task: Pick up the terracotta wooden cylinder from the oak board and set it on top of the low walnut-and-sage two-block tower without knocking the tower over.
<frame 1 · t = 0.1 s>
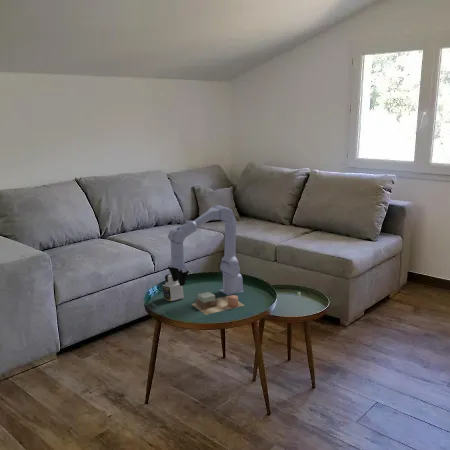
hand: (178, 283, 228), 10 cm above the table, tool pointing down, fingers open, 7 cm apart
cylinder: (232, 305, 225), resting on board
board: (217, 305, 226), on the table
tower top: (206, 299, 225), point 3 cm above the table, touching tower base
tower base: (206, 305, 226), resting on board, touching tower top
medicine bottle: (174, 299, 235), on the table, touching gripper
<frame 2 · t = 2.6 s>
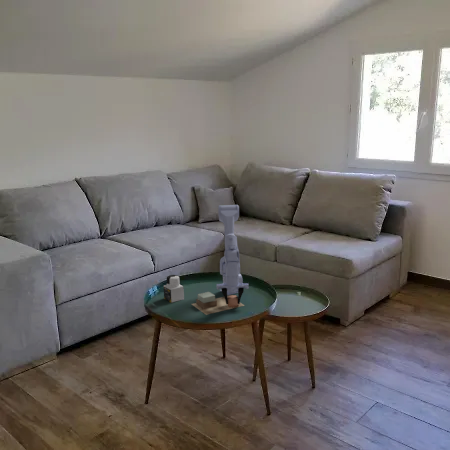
hand: (232, 303, 224), 1 cm above the table, tool pointing down, fingers closed on cylinder, 5 cm apart
cylinder: (232, 305, 225), resting on board, touching gripper
medicine bottle: (174, 300, 235), on the table
everything else where it was.
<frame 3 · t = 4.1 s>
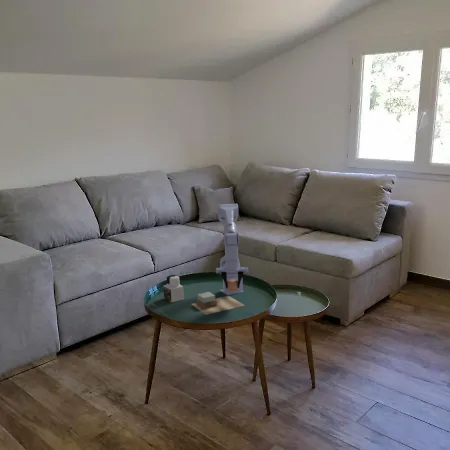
hand: (232, 287, 223), 9 cm above the table, tool pointing down, fingers closed on cylinder, 5 cm apart
cylinder: (232, 289, 223), point 8 cm above the table, touching gripper
everything else where it was.
when the fingers open (7 cm above the table, at t = 5.9 s): cylinder stays where it is, resting on tower top.
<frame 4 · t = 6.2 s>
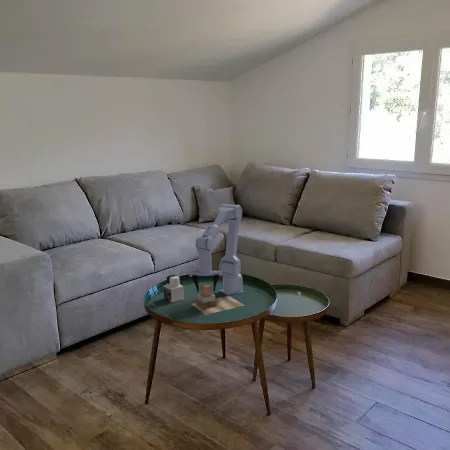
hand: (206, 290, 224), 7 cm above the table, tool pointing down, fingers open, 7 cm apart
cylinder: (206, 294, 225), point 5 cm above the table, touching tower top
tower top: (206, 299, 225), point 3 cm above the table, touching cylinder, tower base
everything else where it was.
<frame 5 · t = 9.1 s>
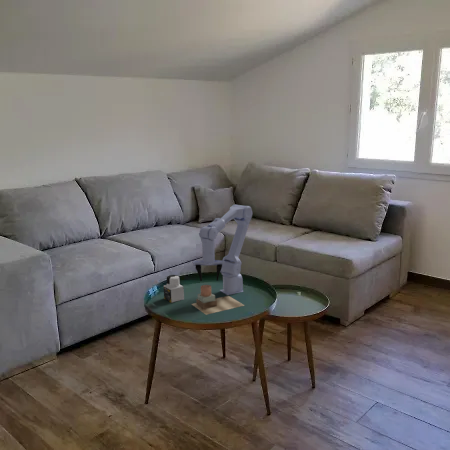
hand: (209, 280, 230), 10 cm above the table, tool pointing down, fingers open, 7 cm apart
nothing on the table moved.
at the end: cylinder 0.0 cm off-centre on the tower base, point 5.0 cm above the tower base's base; tower top 0.0 cm from the tower base (horizontally); cylinder tilted 0° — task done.
